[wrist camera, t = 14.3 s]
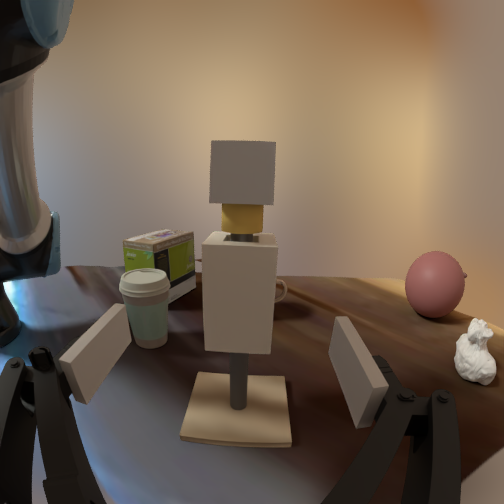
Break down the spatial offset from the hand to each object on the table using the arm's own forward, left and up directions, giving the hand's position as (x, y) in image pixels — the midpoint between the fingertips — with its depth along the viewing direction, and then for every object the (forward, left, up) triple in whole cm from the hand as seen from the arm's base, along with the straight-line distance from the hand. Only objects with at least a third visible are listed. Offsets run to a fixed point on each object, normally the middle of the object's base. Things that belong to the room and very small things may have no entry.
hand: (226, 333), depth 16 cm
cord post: (-8, +6, -17) cm, 20 cm away
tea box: (-48, +9, -18) cm, 52 cm away
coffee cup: (-29, +1, -18) cm, 34 cm away
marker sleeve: (-8, +6, -6) cm, 12 cm away
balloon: (-3, +58, -18) cm, 60 cm away
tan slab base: (-8, +6, -17) cm, 20 cm away
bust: (+12, +38, -18) cm, 43 cm away
